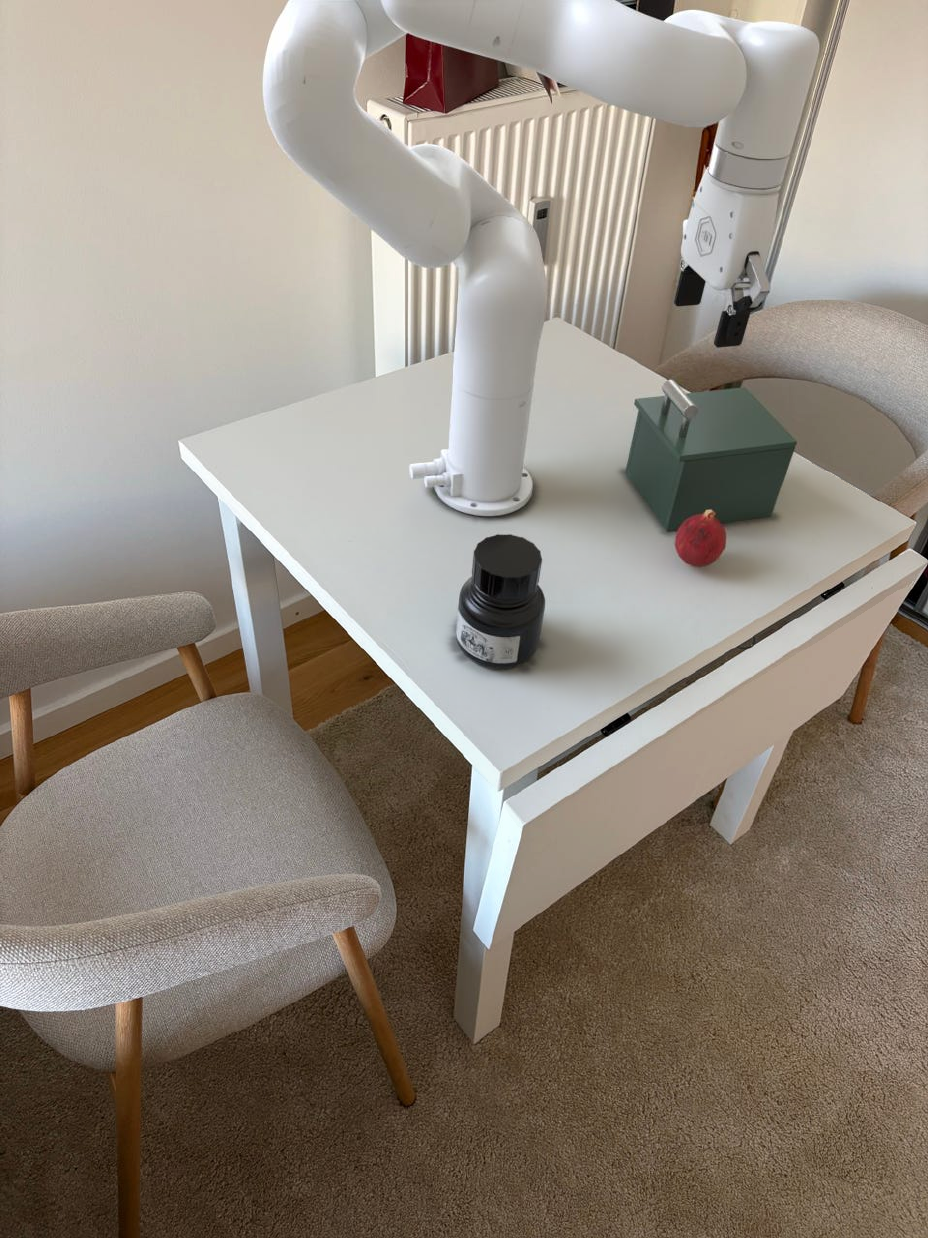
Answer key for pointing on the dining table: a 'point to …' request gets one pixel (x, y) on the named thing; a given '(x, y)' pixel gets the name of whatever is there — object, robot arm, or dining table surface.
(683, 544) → the onion
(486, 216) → the robot arm
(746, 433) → the bin lid
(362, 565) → the dining table surface
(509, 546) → the ink bottle
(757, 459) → the bin
